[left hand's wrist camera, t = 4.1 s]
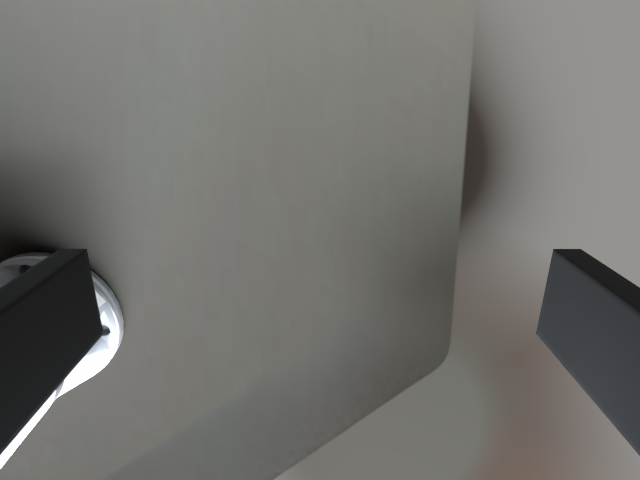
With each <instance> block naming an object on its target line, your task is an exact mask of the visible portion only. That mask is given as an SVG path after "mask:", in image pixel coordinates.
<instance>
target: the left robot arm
mask: <svg viewBox="0 0 640 480" xmlns="http://www.w3.org/2000/svg"><path fill="white" fill-rule="evenodd" d="M123 332H124V320H123V314H122V311H121V307H120V305H119V303H118V300H117V298H116V297H115V295H114V293H113V292H112V290H111V289H110V288H109V286H108V285H107V284H106V283H105V282H104V281H103V280H102V279H101V278H100V277H99V276H98V275H97V274H96V273H94V272H93V271H92V270H91V269H90V264H89V259H88V254H87V249H59V250H57V251H56V252H54V253H53V254H52V253H44V252H31V253H24V254H19V255H16V256H13V257H11V258H8V259H6V260H4V261H3V262H1V263H0V468H1V467H2V466H3V465H4V463H5V462H6V461H7V460H8V458H9V457H10V456H11V455H12V453H13V452H14V451H15V450H16V448H17V447H18V446H19V445H20V443H21V442H22V441H23V440H24V438H25V437H26V436H27V435H28V433H29V432H30V431H31V430H32V428H33V427H34V426H35V425H36V423H37V422H38V421H39V420H40V418H41V417H42V416H43V415H44V413H45V412H46V411H47V410H48V408H49V407H50V406H51V404H52V403H53V402H54V401H55V400H56V399H57V397H58V396H60V395H62V394H64V393H65V392H67V391H69V390H70V389H72V388H74V387H75V386H77V385H79V384H80V383H82V382H84V381H85V380H87V379H89V378H90V377H92V376H94V375H95V374H96V373H98V372H99V371H100V370H101V369H103V368H104V367H105V366H106V365H107V363H108V362H109V361H110V359H111V358H112V357H113V355H114V354H115V353H116V351H117V350H118V348H119V346H120V344H121V341H122V338H123ZM536 334H537V335H538V336H539V337H540V339H541V340H542V341H543V342H544V343H545V344H546V346H547V347H548V348H549V349H550V350H551V352H552V353H553V354H554V355H555V356H556V357H557V359H558V360H559V361H560V362H561V363H562V365H563V366H564V367H565V368H566V369H567V370H568V372H569V373H570V374H571V375H572V376H573V377H574V379H575V380H576V381H577V382H578V383H579V385H580V386H581V387H582V388H583V389H584V390H585V392H586V393H587V394H588V395H589V396H590V398H591V399H592V400H593V401H594V402H595V403H596V405H597V406H598V407H599V408H600V409H601V411H602V412H603V413H604V414H605V415H606V416H607V418H608V419H609V420H610V421H611V422H612V423H613V425H614V426H615V427H616V428H617V429H618V431H619V432H620V433H621V434H622V435H623V436H624V438H625V439H626V440H627V441H628V442H629V443H630V445H631V446H632V447H633V448H634V449H635V451H636V452H637V453H638V454H639V455H640V288H639V287H638V286H636V285H635V284H633V283H632V282H630V281H629V280H627V279H625V278H624V277H622V276H621V275H619V274H618V273H616V272H615V271H613V270H612V269H610V268H609V267H607V266H606V265H604V264H602V263H601V262H599V261H598V260H596V259H595V258H593V257H592V256H590V255H589V254H587V253H586V252H584V251H583V250H581V249H553V254H552V259H551V264H550V269H549V273H548V279H547V283H546V288H545V293H544V298H543V303H542V308H541V313H540V318H539V323H538V328H537V332H536Z"/></svg>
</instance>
